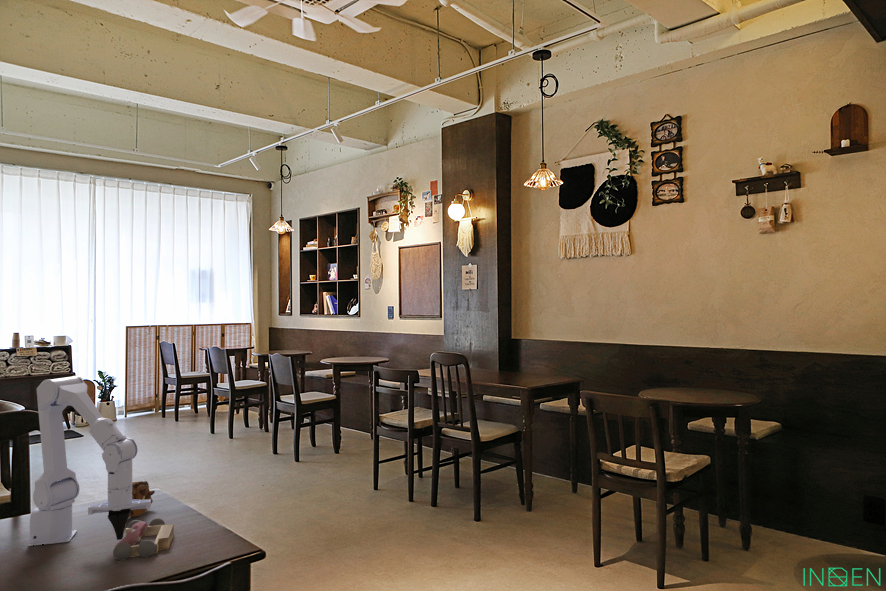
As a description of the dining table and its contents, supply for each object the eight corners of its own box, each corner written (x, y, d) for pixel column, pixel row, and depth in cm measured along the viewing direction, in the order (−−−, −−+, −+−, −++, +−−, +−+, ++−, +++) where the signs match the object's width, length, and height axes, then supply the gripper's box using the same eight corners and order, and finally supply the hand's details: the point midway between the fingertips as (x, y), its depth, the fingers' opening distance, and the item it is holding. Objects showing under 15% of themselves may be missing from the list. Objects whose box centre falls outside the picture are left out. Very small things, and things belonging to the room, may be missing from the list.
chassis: (112, 561, 151) (112, 545, 151) (127, 535, 167) (127, 520, 167) (166, 554, 154) (166, 539, 154) (175, 530, 171) (175, 515, 171)
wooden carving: (128, 526, 174) (128, 491, 174) (113, 526, 175) (112, 491, 175) (157, 506, 191) (157, 475, 191) (143, 506, 191) (143, 475, 191)
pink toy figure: (128, 558, 155) (141, 533, 156) (111, 551, 155) (124, 526, 155) (142, 543, 165) (154, 520, 166) (126, 537, 165) (138, 513, 165)
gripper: (84, 493, 153) (84, 547, 153) (147, 488, 157) (147, 540, 157) (92, 485, 160) (92, 537, 160) (152, 480, 164) (152, 530, 164)
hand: (120, 538), depth 159 cm, fingers closed
